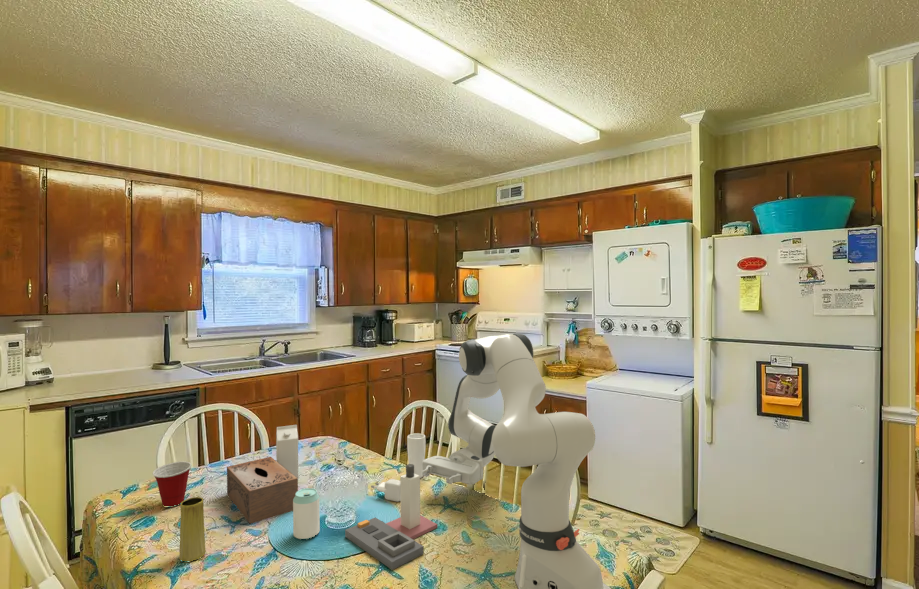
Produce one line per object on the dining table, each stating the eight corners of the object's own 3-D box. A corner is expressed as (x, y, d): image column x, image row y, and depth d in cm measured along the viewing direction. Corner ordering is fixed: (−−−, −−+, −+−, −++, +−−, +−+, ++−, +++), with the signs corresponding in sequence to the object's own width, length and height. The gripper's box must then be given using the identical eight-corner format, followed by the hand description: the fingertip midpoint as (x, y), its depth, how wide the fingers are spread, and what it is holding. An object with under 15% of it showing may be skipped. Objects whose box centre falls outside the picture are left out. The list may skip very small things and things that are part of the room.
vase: (200, 547, 125) (199, 494, 125) (210, 555, 121) (209, 500, 121) (175, 557, 120) (174, 502, 120) (184, 565, 116) (183, 509, 116)
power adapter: (369, 497, 154) (369, 480, 154) (377, 492, 159) (377, 474, 159) (398, 503, 150) (398, 485, 150) (406, 497, 154) (405, 479, 154)
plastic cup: (144, 510, 147) (143, 472, 147) (172, 495, 157) (172, 460, 157) (172, 513, 144) (172, 475, 144) (199, 498, 155) (199, 462, 155)
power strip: (423, 553, 121) (423, 540, 121) (392, 570, 114) (392, 555, 114) (375, 524, 137) (375, 512, 136) (345, 536, 130) (345, 524, 130)
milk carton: (276, 475, 174) (276, 424, 174) (296, 472, 177) (296, 422, 177) (277, 482, 168) (277, 429, 168) (298, 478, 171) (298, 427, 171)
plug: (420, 524, 134) (419, 465, 134) (409, 529, 131) (409, 469, 131) (411, 519, 137) (410, 462, 137) (400, 524, 134) (400, 465, 134)
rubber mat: (437, 527, 134) (437, 524, 134) (407, 542, 126) (407, 538, 126) (413, 514, 142) (413, 511, 142) (383, 527, 134) (383, 524, 134)
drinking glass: (422, 480, 168) (422, 439, 168) (405, 479, 169) (404, 438, 169) (428, 473, 174) (427, 433, 174) (410, 472, 176) (410, 432, 176)
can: (325, 532, 132) (324, 490, 132) (305, 543, 126) (304, 499, 126) (307, 525, 136) (307, 485, 136) (287, 537, 130) (287, 494, 130)
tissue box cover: (227, 496, 157) (226, 466, 157) (271, 484, 166) (270, 456, 166) (249, 524, 137) (249, 491, 137) (298, 509, 147) (297, 478, 147)
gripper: (437, 448, 161) (410, 460, 150) (487, 460, 149) (462, 474, 138) (437, 466, 161) (410, 479, 150) (487, 480, 149) (462, 495, 138)
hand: (435, 477), depth 144 cm, fingers open, 8 cm apart
